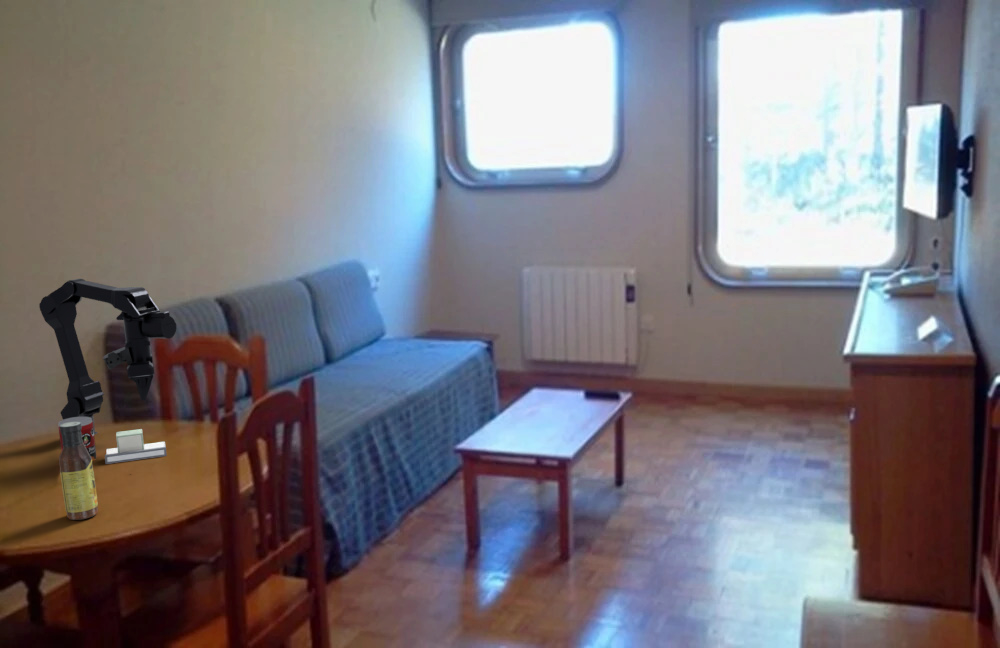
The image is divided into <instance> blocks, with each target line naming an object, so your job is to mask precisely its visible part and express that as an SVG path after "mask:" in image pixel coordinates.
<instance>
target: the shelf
mask: <svg viewBox="0 0 1000 648" xmlns="http://www.w3.org/2000/svg"><path fill="white" fill-rule="evenodd" d="M167 455H168V454H167V447H166V442H165V441H158V442H152V443H144V450H137V451H130V452H122V453H118V448H117V447H113V448H106V454H104V461H105V462H104V463H105V465H108V464H110V465H111V464H116V463H122V462H123V463H124V462H131V461H137V460H145V459H152V458H160V457H166V456H167Z"/></svg>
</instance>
